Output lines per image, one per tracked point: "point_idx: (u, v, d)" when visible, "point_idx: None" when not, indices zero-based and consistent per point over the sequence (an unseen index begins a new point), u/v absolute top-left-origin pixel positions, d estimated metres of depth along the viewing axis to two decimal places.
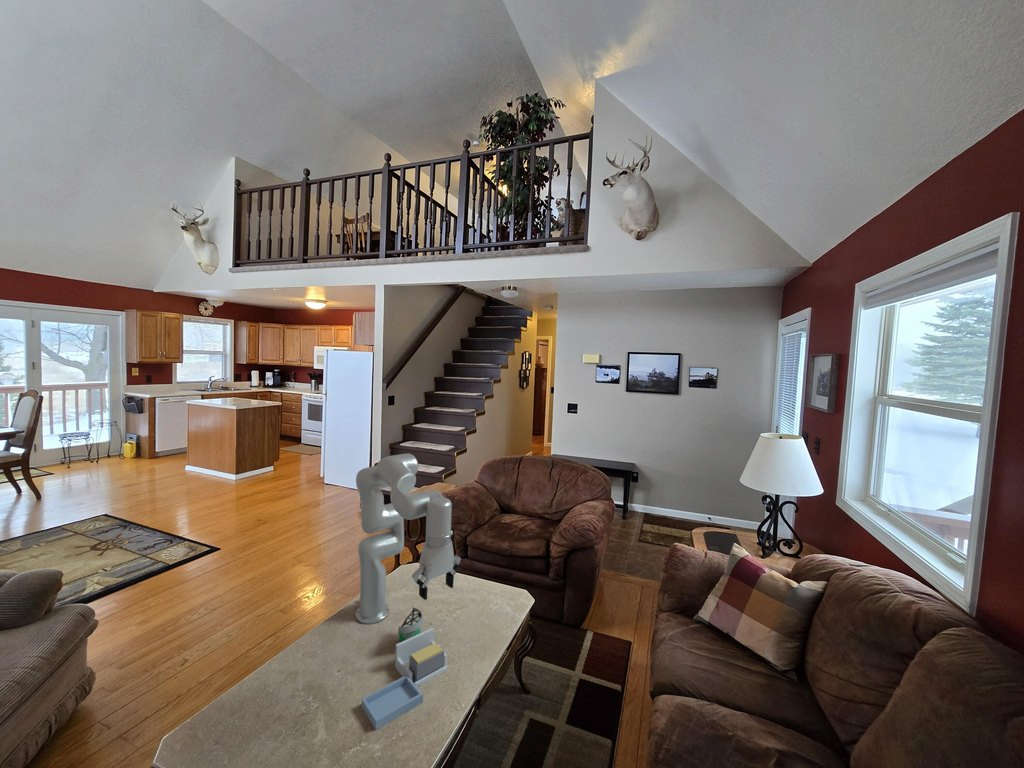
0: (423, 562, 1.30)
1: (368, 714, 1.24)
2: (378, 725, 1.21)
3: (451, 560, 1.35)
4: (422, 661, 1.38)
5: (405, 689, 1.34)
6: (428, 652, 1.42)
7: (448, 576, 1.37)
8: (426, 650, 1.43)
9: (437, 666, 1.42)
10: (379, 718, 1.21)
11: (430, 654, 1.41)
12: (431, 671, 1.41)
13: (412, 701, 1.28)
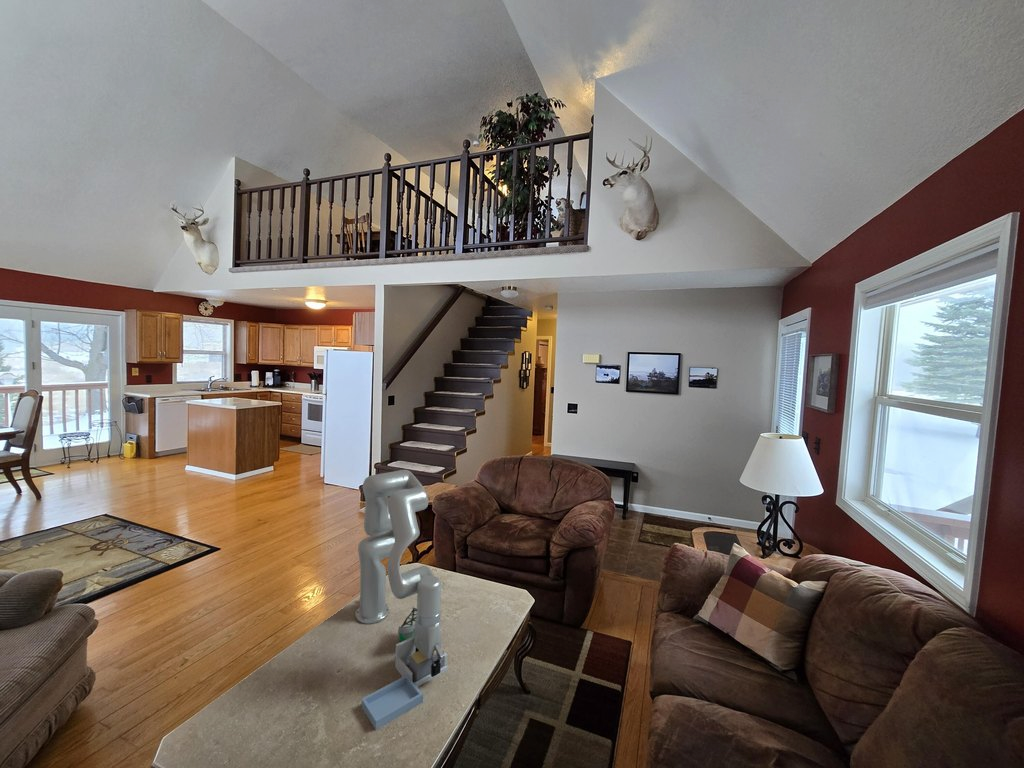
0: (436, 642, 1.37)
1: (368, 714, 1.24)
2: (378, 725, 1.21)
3: None
4: (422, 661, 1.38)
5: (405, 689, 1.34)
6: None
7: None
8: None
9: None
10: (379, 718, 1.21)
11: None
12: None
13: (412, 701, 1.28)
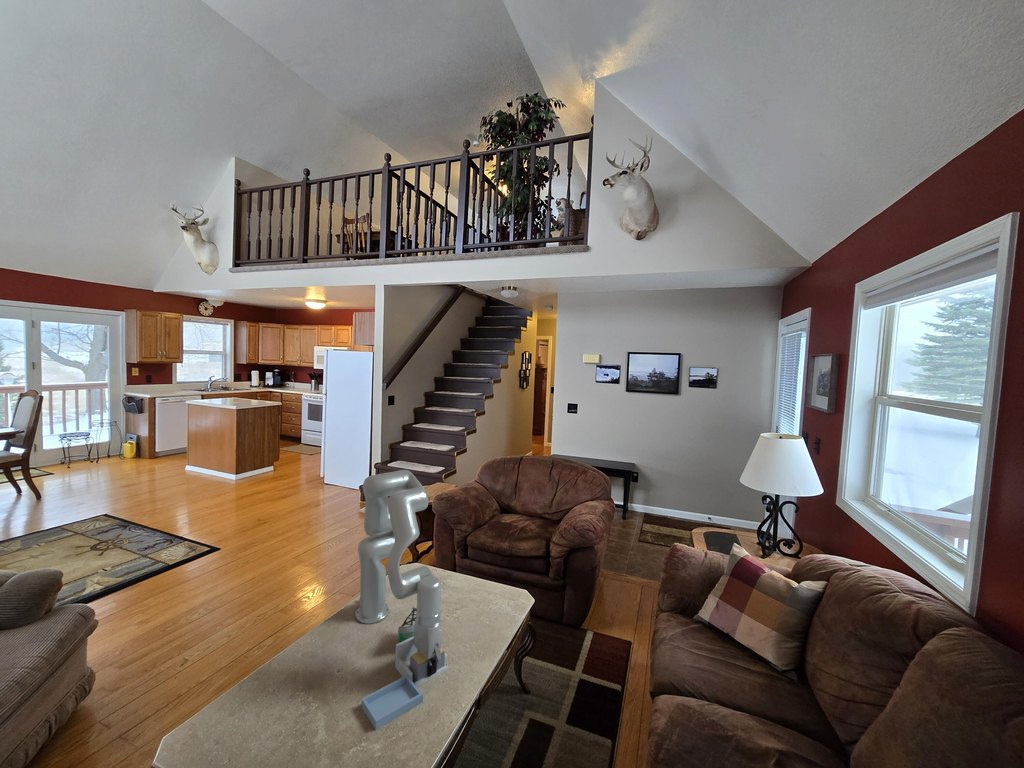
0: (435, 642, 1.37)
1: (368, 714, 1.24)
2: (378, 725, 1.21)
3: None
4: (422, 662, 1.38)
5: (405, 689, 1.34)
6: None
7: None
8: None
9: (438, 667, 1.42)
10: (379, 718, 1.21)
11: None
12: None
13: (412, 701, 1.28)
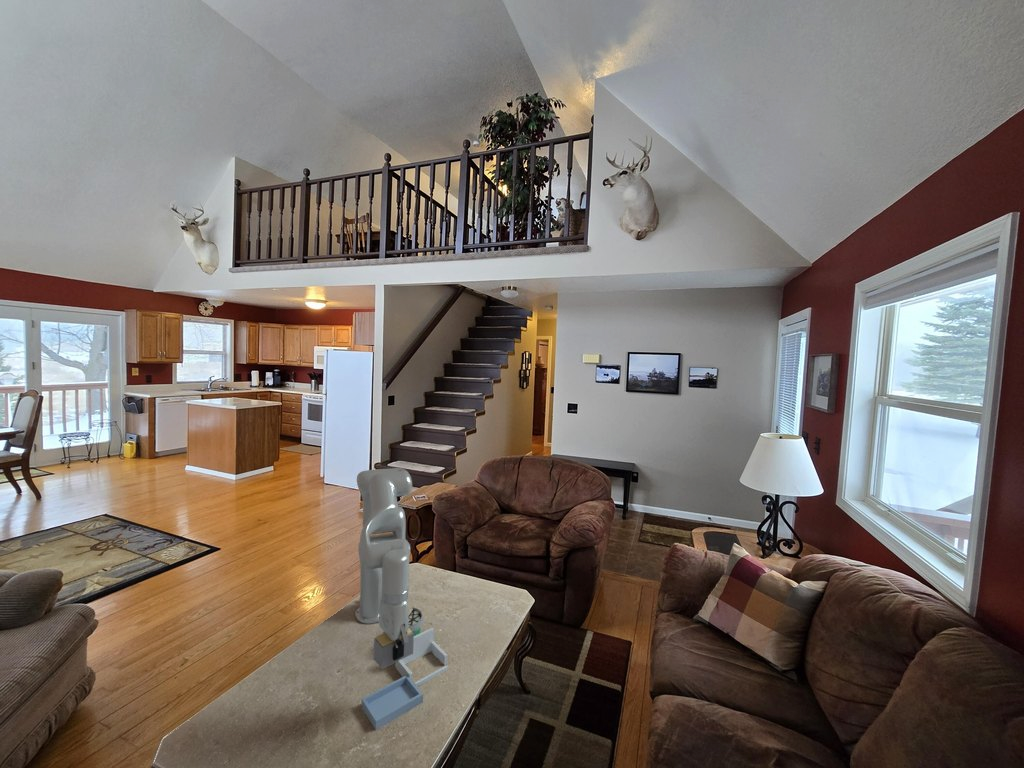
0: (402, 622, 1.23)
1: (368, 714, 1.24)
2: (378, 725, 1.21)
3: None
4: (387, 644, 1.24)
5: (405, 689, 1.34)
6: None
7: None
8: None
9: (406, 650, 1.28)
10: (379, 718, 1.21)
11: None
12: None
13: (412, 701, 1.28)
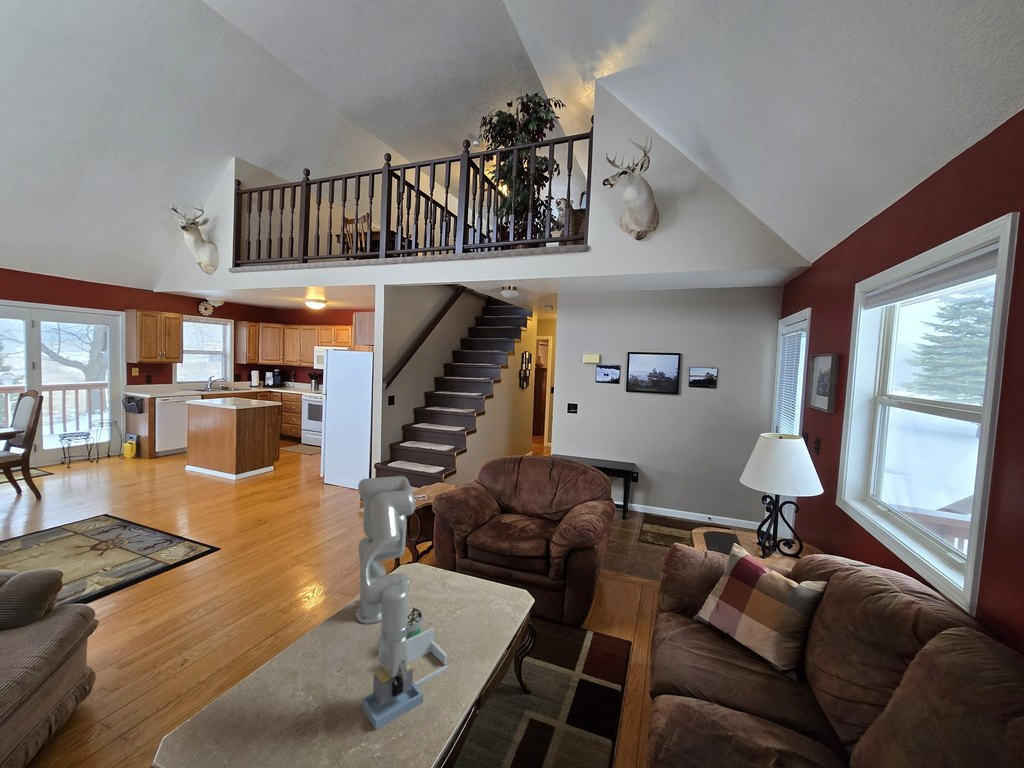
0: (401, 659, 1.24)
1: (368, 714, 1.24)
2: (378, 725, 1.21)
3: None
4: (387, 680, 1.25)
5: None
6: None
7: None
8: None
9: (405, 685, 1.29)
10: (379, 718, 1.21)
11: None
12: None
13: (412, 701, 1.28)
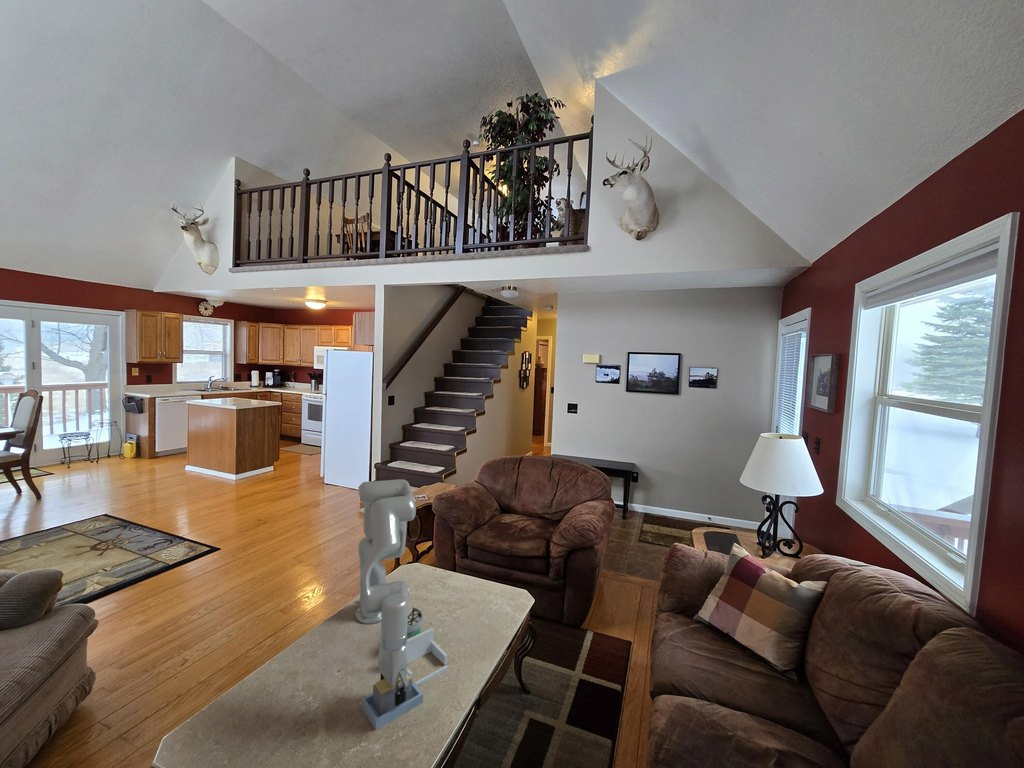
0: (401, 667, 1.24)
1: (368, 714, 1.24)
2: (378, 725, 1.21)
3: None
4: (386, 691, 1.25)
5: None
6: None
7: None
8: None
9: None
10: (379, 718, 1.21)
11: None
12: None
13: (412, 701, 1.28)
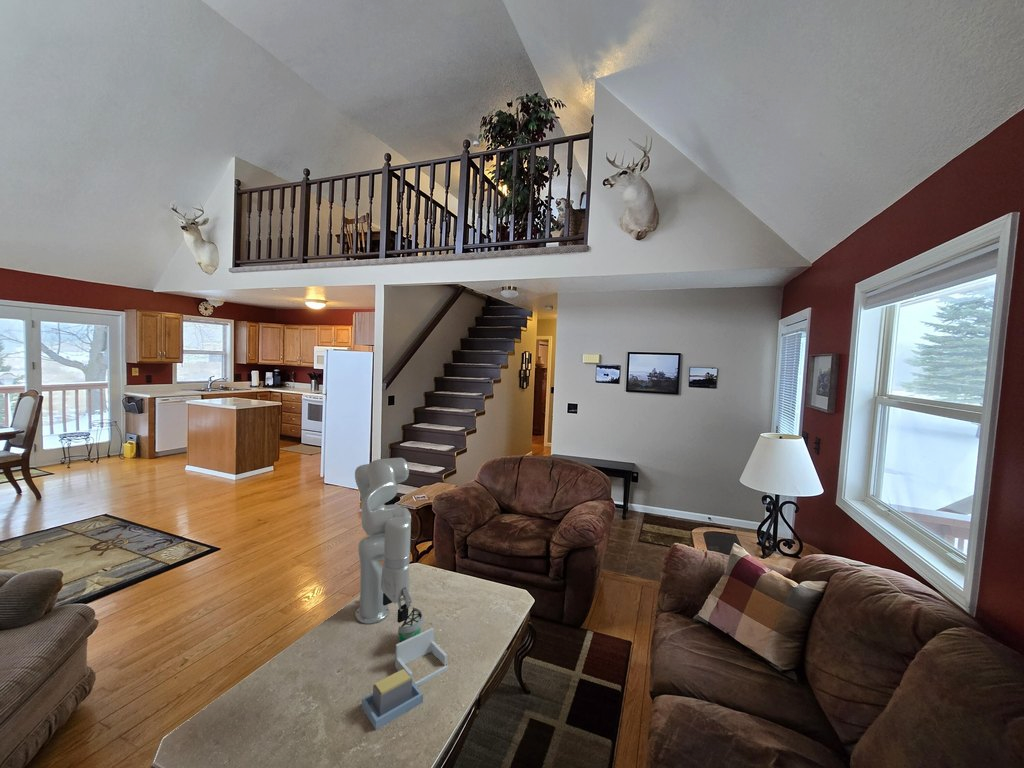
0: (403, 586, 1.27)
1: (368, 714, 1.24)
2: (378, 725, 1.21)
3: None
4: (386, 691, 1.25)
5: None
6: (394, 681, 1.28)
7: None
8: (392, 678, 1.29)
9: (405, 696, 1.29)
10: (379, 718, 1.21)
11: (396, 683, 1.28)
12: (397, 701, 1.28)
13: (412, 701, 1.28)
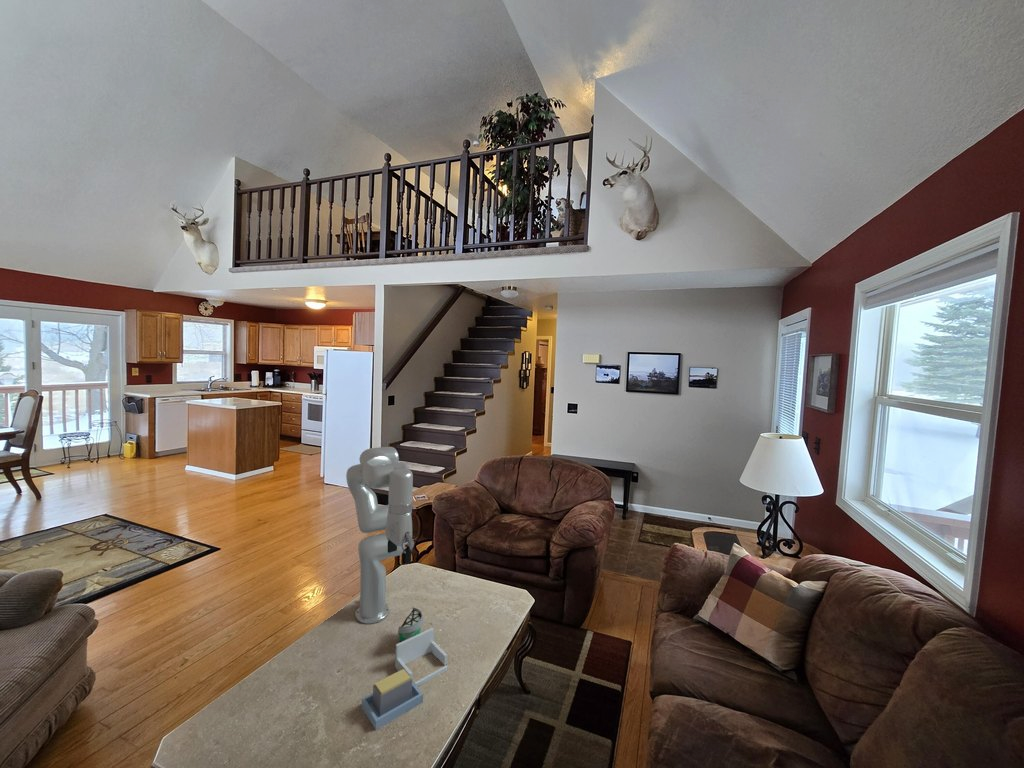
0: (406, 530, 1.39)
1: (368, 714, 1.24)
2: (378, 725, 1.21)
3: None
4: (386, 691, 1.25)
5: None
6: (394, 681, 1.28)
7: (392, 542, 1.47)
8: (392, 678, 1.29)
9: (405, 696, 1.29)
10: (379, 718, 1.21)
11: (396, 683, 1.28)
12: (397, 701, 1.28)
13: (412, 701, 1.28)
